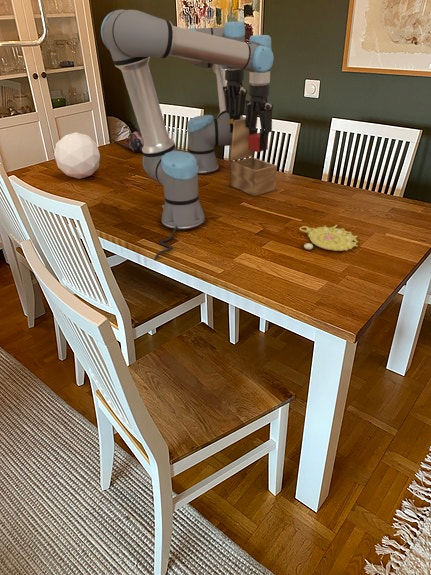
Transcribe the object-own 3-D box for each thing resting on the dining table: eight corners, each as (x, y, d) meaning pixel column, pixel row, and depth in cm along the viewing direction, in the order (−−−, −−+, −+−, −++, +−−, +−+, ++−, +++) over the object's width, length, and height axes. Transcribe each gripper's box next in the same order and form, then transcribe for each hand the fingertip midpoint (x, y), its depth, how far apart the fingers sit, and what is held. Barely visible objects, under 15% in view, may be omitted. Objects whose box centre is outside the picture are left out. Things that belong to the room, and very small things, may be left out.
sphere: (87, 194, 201) (71, 168, 182) (55, 173, 206) (37, 145, 187) (114, 165, 206) (102, 136, 187) (82, 145, 210) (67, 115, 192)
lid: (257, 117, 175) (245, 110, 180) (235, 121, 170) (222, 114, 175) (253, 156, 185) (241, 149, 190) (231, 161, 180) (220, 153, 185)
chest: (275, 189, 181) (276, 165, 175) (254, 196, 175) (254, 171, 170) (251, 180, 191) (252, 157, 186) (231, 185, 186) (231, 162, 181)
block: (267, 149, 172) (268, 135, 169) (257, 152, 170) (257, 137, 167) (258, 146, 176) (258, 132, 173) (248, 149, 173) (248, 135, 170)
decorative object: (343, 255, 128) (285, 234, 139) (342, 262, 130) (284, 241, 140) (372, 230, 142) (317, 213, 152) (371, 237, 143) (316, 219, 153)
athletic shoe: (138, 131, 244) (117, 136, 240) (148, 124, 224) (125, 129, 220) (144, 152, 247) (123, 157, 243) (154, 147, 227) (132, 152, 223)
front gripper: (284, 85, 155) (280, 152, 168) (251, 80, 168) (250, 142, 181) (268, 88, 152) (265, 155, 164) (235, 82, 165) (235, 145, 177)
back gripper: (254, 69, 165) (253, 134, 178) (231, 66, 175) (231, 127, 188) (238, 71, 162) (238, 137, 174) (215, 68, 172) (217, 130, 185)
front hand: (257, 148), depth 173 cm, fingers closed on block, 6 cm apart
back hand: (234, 132), depth 181 cm, fingers closed on lid, 1 cm apart
